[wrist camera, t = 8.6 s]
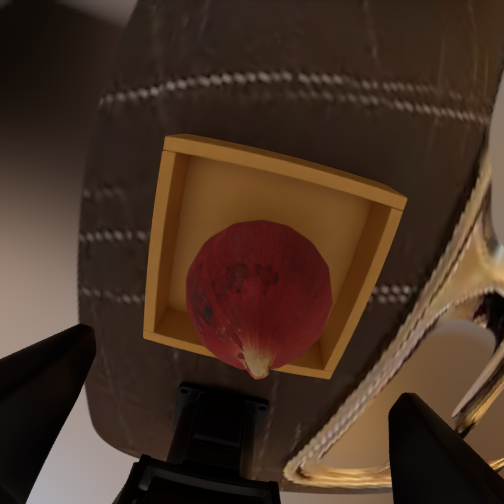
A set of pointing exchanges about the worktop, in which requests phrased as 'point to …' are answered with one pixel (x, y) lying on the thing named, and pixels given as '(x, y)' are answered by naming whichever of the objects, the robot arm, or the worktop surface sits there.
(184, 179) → the amber tray
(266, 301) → the onion
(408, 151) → the worktop surface
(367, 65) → the worktop surface
